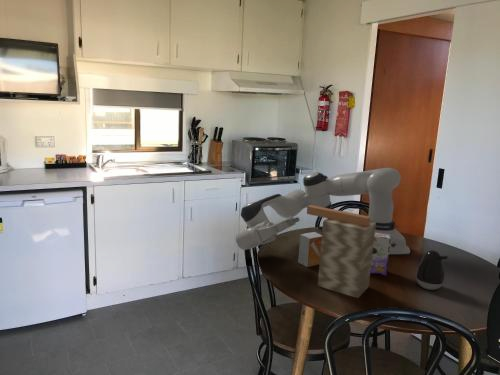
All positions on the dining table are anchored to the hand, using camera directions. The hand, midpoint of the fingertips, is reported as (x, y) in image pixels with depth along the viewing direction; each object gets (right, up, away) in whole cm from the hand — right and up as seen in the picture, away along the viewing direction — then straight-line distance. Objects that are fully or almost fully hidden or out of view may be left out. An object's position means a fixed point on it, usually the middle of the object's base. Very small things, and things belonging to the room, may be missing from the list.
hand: (293, 221), depth 171 cm
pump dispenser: (+53, -25, -5) cm, 59 cm away
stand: (+19, -24, -8) cm, 31 cm away
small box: (+9, -19, +13) cm, 25 cm away
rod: (+16, +2, -11) cm, 19 cm away
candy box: (+33, -22, +8) cm, 41 cm away
